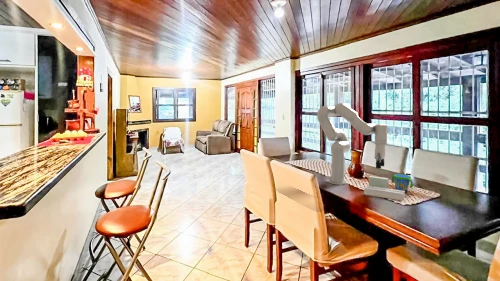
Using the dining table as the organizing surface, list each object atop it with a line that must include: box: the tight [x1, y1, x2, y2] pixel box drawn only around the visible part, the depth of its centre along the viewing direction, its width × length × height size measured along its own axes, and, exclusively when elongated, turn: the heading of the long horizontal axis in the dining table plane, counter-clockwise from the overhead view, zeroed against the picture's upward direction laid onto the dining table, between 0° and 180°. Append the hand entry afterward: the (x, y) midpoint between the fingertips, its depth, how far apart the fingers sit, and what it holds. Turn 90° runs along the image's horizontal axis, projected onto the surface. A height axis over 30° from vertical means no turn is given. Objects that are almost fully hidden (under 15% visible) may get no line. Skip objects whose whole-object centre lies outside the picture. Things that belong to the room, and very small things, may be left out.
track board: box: [363, 185, 406, 201], centre depth 194 cm, size 23×10×4 cm, turn 55°
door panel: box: [368, 175, 389, 189], centre depth 206 cm, size 12×3×9 cm, turn 55°
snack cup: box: [390, 173, 414, 192], centre depth 207 cm, size 16×10×10 cm
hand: (380, 167), depth 205 cm, fingers open, 9 cm apart
